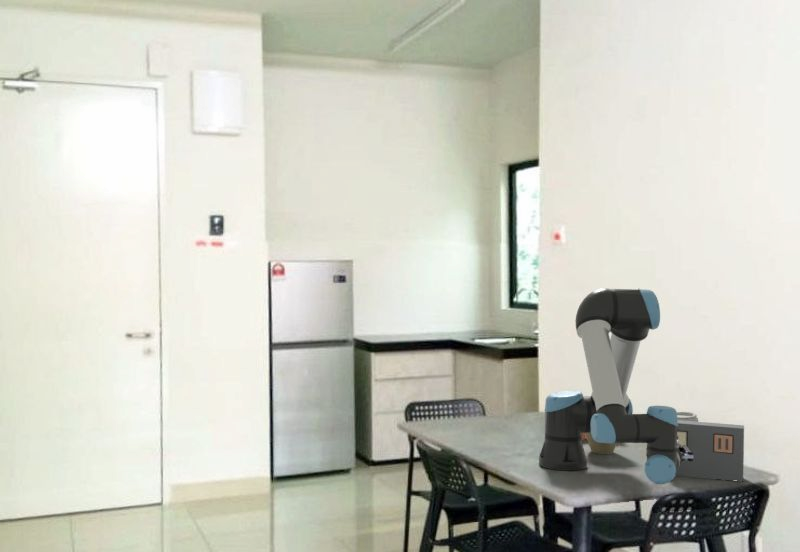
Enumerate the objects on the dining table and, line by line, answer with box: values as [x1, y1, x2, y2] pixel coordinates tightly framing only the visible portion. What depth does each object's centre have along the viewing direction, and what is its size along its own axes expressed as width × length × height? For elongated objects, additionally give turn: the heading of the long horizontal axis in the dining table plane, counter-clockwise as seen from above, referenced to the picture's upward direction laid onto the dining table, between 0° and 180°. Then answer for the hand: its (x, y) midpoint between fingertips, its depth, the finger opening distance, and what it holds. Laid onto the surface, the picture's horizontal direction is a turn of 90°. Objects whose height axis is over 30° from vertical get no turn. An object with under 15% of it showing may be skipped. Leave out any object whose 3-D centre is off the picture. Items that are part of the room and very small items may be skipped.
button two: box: [714, 434, 733, 453], centre depth 249 cm, size 3×5×5 cm, turn 65°
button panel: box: [675, 420, 745, 482], centre depth 253 cm, size 6×24×16 cm, turn 66°
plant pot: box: [586, 433, 618, 455], centre depth 286 cm, size 15×15×16 cm
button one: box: [677, 431, 687, 447], centre depth 252 cm, size 3×5×5 cm, turn 66°
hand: (676, 444), depth 246 cm, fingers closed
